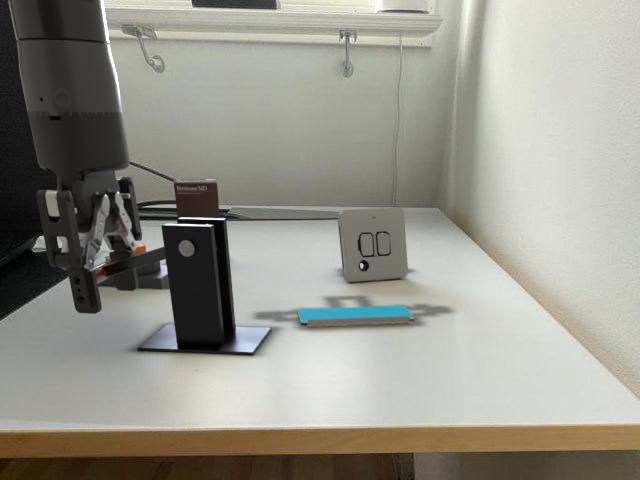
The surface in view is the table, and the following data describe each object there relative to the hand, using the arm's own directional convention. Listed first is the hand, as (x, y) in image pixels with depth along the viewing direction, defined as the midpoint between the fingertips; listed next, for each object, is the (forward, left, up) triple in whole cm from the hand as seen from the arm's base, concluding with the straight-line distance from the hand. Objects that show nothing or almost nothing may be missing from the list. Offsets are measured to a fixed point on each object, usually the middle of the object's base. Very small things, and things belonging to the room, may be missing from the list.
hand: (109, 300), depth 64 cm
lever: (+5, 0, +3) cm, 6 cm away
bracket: (+9, 0, -4) cm, 10 cm away
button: (-8, +24, -1) cm, 25 cm away
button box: (-8, +24, -4) cm, 26 cm away
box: (-3, +37, -5) cm, 37 cm away
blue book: (+22, +12, -5) cm, 26 cm away
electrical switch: (+22, +34, -5) cm, 41 cm away
